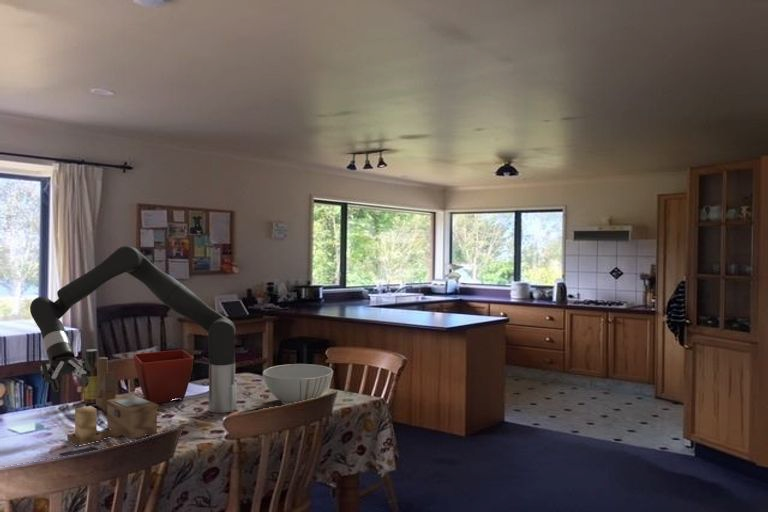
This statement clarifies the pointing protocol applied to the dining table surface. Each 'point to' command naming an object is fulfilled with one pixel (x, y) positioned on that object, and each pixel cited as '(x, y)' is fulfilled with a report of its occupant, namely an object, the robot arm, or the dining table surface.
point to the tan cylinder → (85, 422)
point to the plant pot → (163, 374)
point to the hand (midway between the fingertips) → (72, 388)
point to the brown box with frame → (125, 419)
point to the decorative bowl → (297, 381)
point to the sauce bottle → (91, 377)
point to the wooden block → (104, 383)
